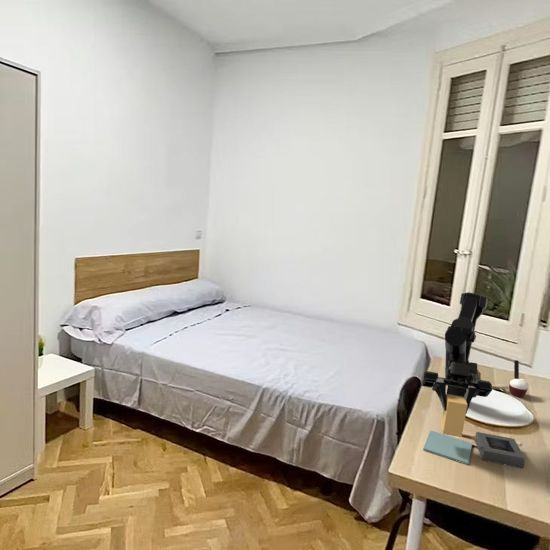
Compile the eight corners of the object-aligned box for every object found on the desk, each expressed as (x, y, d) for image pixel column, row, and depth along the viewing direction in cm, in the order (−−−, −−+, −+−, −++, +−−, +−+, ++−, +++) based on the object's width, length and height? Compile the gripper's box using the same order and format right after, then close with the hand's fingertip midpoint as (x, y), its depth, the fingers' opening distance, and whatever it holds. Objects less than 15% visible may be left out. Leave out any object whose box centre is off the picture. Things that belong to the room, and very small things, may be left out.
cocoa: (526, 402, 168) (534, 372, 165) (507, 397, 170) (515, 368, 167) (524, 391, 176) (531, 363, 173) (506, 387, 179) (513, 359, 176)
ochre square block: (442, 433, 128) (448, 401, 126) (440, 425, 133) (446, 393, 131) (461, 437, 127) (467, 404, 125) (458, 428, 132) (464, 396, 130)
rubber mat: (423, 450, 128) (423, 448, 128) (430, 431, 138) (430, 430, 138) (468, 464, 123) (468, 463, 123) (471, 444, 133) (472, 443, 133)
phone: (458, 377, 182) (459, 365, 196) (457, 380, 183) (458, 368, 196) (479, 382, 179) (478, 370, 193) (478, 385, 180) (478, 372, 193)
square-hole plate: (482, 460, 126) (484, 450, 125) (474, 440, 136) (476, 431, 135) (523, 468, 123) (525, 458, 123) (512, 447, 134) (514, 438, 133)
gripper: (428, 345, 131) (426, 396, 122) (496, 355, 127) (499, 409, 119) (421, 360, 140) (419, 409, 132) (485, 371, 136) (487, 422, 128)
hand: (455, 412), depth 127 cm, fingers closed on ochre square block, 5 cm apart
